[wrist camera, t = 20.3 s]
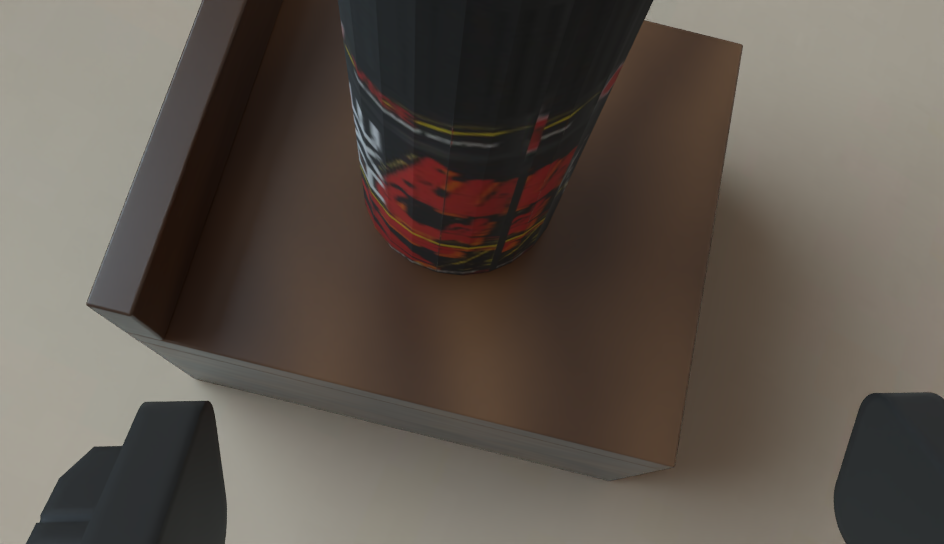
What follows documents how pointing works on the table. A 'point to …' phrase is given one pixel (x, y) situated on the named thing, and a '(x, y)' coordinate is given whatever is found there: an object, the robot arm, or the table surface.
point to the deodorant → (476, 116)
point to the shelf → (407, 284)
